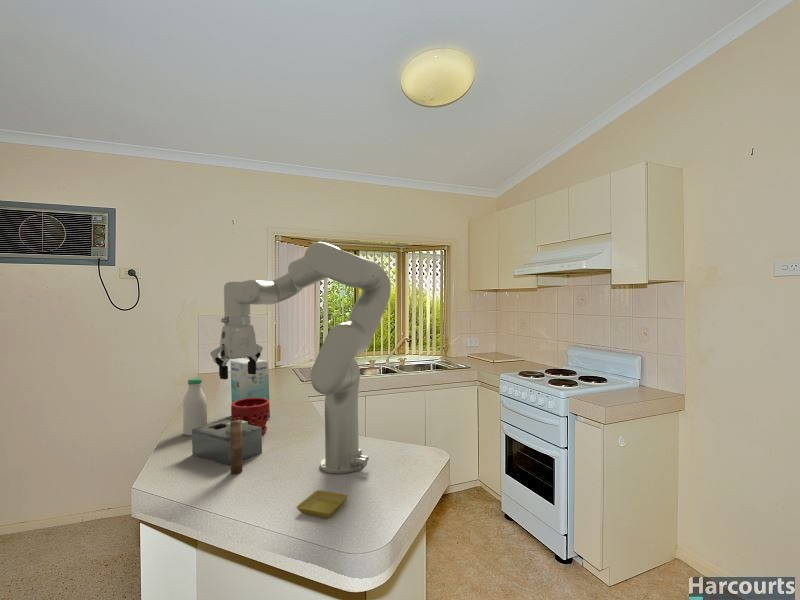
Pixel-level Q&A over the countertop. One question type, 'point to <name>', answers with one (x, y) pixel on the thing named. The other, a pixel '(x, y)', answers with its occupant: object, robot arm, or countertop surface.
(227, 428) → the on button
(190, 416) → the milk bottle
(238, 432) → the stylus dowel
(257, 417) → the plant pot
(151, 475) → the countertop surface
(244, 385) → the toothbrush box
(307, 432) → the countertop surface
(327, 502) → the olive square dish
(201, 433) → the grey box
